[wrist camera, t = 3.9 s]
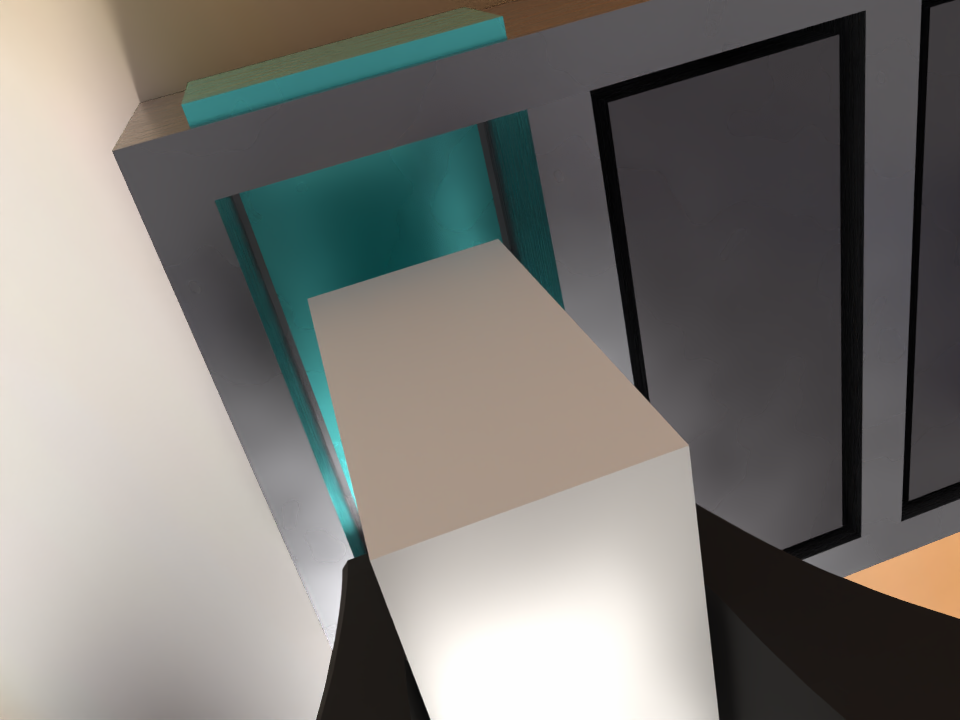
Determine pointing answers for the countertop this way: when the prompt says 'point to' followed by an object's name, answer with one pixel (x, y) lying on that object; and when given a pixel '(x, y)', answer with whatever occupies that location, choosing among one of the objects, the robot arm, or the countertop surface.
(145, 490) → the countertop surface
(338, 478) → the rack
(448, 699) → the block
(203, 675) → the countertop surface
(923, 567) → the countertop surface
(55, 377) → the countertop surface
